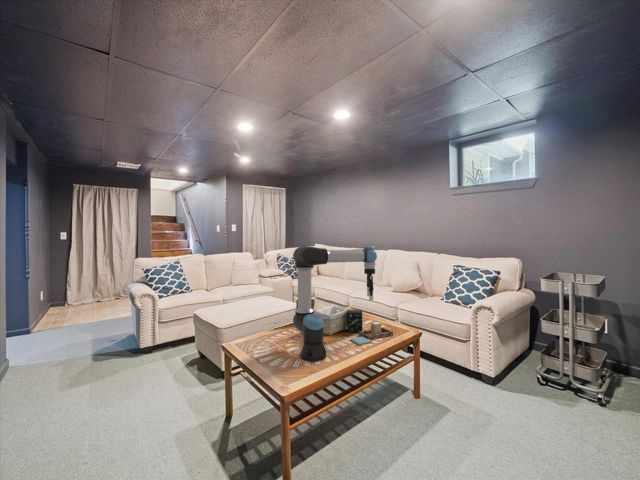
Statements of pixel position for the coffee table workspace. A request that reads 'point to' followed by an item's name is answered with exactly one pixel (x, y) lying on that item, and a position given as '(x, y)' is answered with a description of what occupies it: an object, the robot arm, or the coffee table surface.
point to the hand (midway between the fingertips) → (370, 298)
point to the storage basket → (333, 319)
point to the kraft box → (375, 328)
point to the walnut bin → (383, 334)
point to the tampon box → (354, 320)
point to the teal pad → (361, 340)
